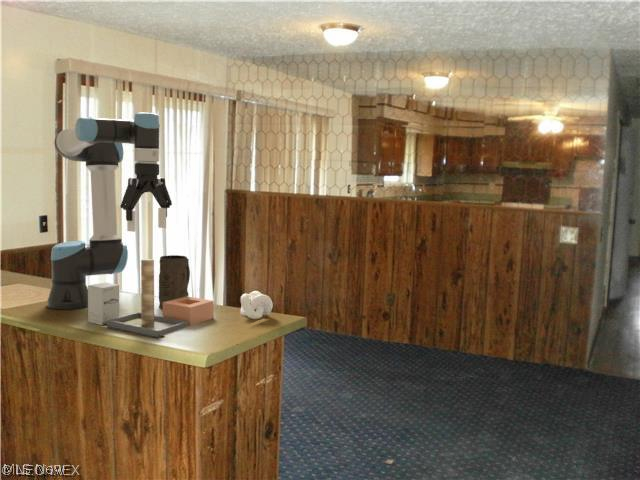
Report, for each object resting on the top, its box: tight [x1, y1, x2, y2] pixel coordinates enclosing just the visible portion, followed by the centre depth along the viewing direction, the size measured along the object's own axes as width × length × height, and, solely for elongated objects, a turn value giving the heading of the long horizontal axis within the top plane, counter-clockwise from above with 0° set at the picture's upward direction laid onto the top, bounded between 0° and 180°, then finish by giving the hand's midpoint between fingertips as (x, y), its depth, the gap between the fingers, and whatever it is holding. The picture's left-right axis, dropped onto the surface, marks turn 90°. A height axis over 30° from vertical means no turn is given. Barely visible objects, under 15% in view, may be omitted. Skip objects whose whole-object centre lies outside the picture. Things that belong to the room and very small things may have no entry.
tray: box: [106, 311, 189, 340], centre depth 207 cm, size 22×14×2 cm, turn 61°
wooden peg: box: [140, 258, 155, 328], centre depth 205 cm, size 4×4×22 cm
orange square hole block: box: [162, 295, 215, 326], centre depth 216 cm, size 12×12×7 cm
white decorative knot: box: [240, 290, 274, 320], centre depth 223 cm, size 11×12×9 cm
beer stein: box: [158, 254, 191, 310], centre depth 235 cm, size 15×11×20 cm
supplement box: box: [87, 282, 120, 326], centre depth 213 cm, size 7×7×13 cm
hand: (147, 229), depth 203 cm, fingers open, 13 cm apart
